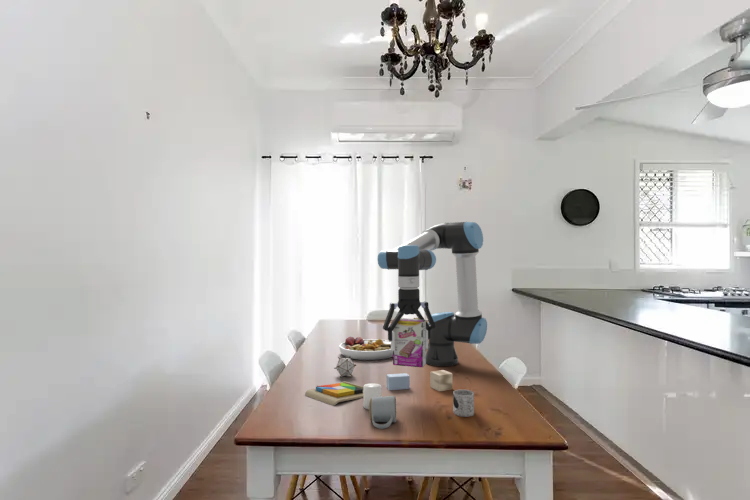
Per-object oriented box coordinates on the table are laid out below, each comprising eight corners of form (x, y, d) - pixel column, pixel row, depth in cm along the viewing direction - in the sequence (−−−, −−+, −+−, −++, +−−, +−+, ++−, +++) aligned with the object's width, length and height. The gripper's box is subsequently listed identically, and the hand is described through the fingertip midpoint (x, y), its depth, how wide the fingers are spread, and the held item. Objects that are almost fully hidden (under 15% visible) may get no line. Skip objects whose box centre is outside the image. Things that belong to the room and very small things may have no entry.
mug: (452, 409, 158) (452, 389, 158) (473, 409, 157) (473, 389, 157) (454, 420, 148) (454, 398, 148) (476, 420, 147) (476, 399, 147)
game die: (348, 386, 197) (352, 370, 192) (329, 377, 199) (333, 362, 193) (356, 371, 204) (360, 355, 199) (338, 363, 206) (342, 347, 200)
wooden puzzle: (374, 395, 175) (374, 385, 175) (334, 407, 161) (334, 397, 161) (342, 385, 187) (342, 376, 187) (303, 396, 174) (303, 387, 174)
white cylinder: (378, 403, 164) (378, 382, 164) (383, 408, 158) (383, 387, 158) (361, 404, 162) (361, 384, 162) (366, 410, 157) (366, 388, 157)
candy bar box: (392, 365, 170) (392, 319, 170) (396, 362, 175) (396, 317, 175) (423, 368, 166) (422, 321, 166) (426, 364, 171) (426, 318, 171)
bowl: (409, 352, 244) (409, 337, 244) (378, 364, 219) (378, 347, 219) (361, 346, 260) (361, 331, 260) (327, 357, 235) (327, 341, 235)
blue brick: (406, 386, 185) (406, 373, 185) (409, 389, 181) (409, 375, 181) (386, 387, 183) (386, 374, 183) (389, 390, 179) (389, 377, 179)
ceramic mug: (370, 416, 151) (370, 392, 151) (396, 416, 151) (396, 392, 151) (367, 429, 141) (367, 403, 141) (395, 430, 140) (395, 404, 140)
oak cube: (443, 385, 185) (443, 369, 185) (452, 389, 180) (452, 373, 180) (430, 387, 183) (430, 371, 183) (439, 391, 177) (439, 375, 177)
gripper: (378, 290, 164) (379, 353, 164) (444, 288, 169) (444, 349, 169) (373, 288, 171) (374, 348, 172) (437, 286, 176) (437, 344, 177)
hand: (409, 349), depth 170 cm, fingers closed on candy bar box, 12 cm apart
